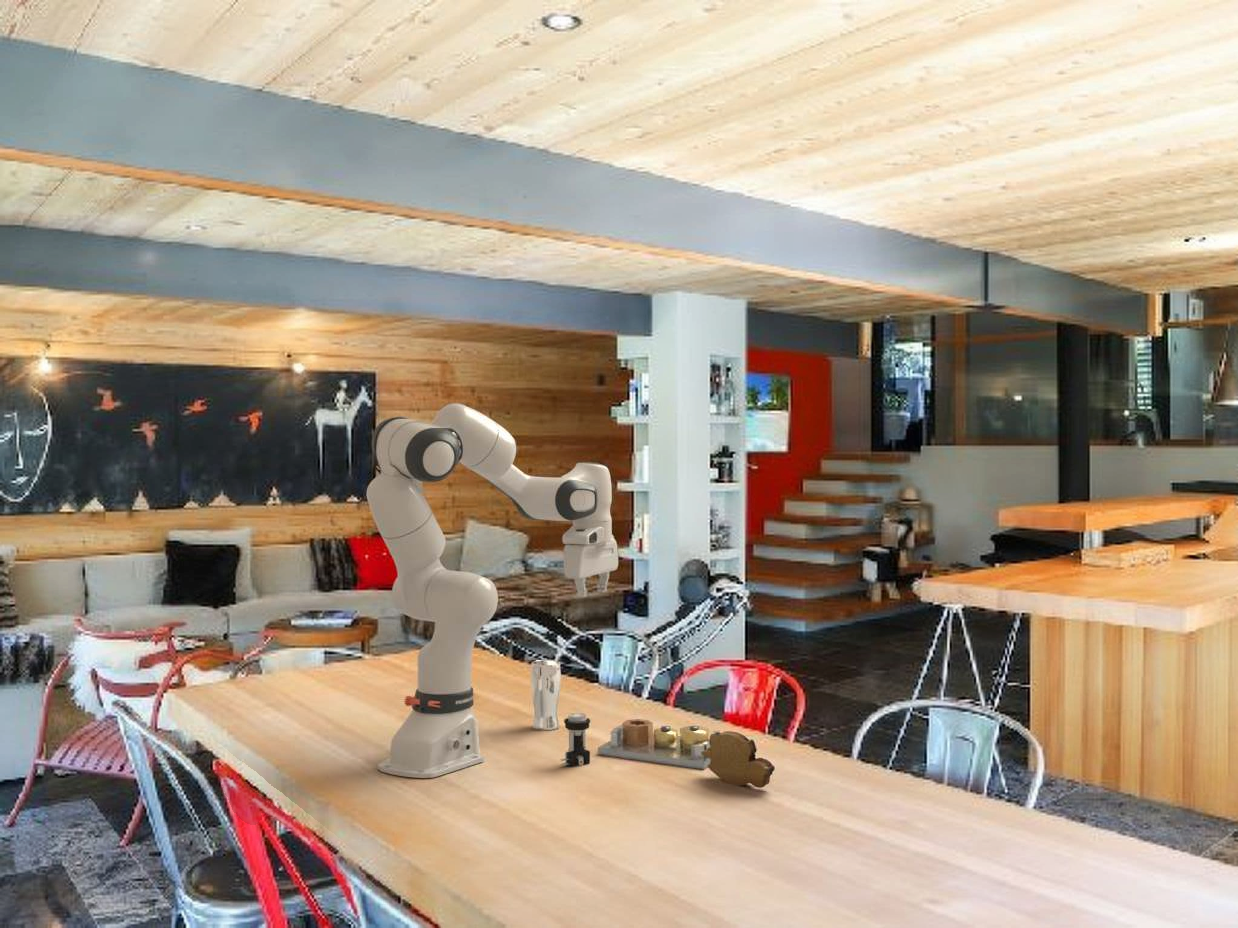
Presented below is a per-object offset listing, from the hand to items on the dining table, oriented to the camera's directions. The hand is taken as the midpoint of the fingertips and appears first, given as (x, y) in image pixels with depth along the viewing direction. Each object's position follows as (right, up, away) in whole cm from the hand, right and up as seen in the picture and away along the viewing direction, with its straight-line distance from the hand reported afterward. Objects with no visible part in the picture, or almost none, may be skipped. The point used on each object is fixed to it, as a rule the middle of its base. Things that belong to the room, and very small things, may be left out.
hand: (592, 594), depth 250 cm
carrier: (+16, -31, -17) cm, 39 cm away
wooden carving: (+29, -32, -38) cm, 58 cm away
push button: (-3, -32, -26) cm, 41 cm away
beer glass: (-11, -31, +4) cm, 33 cm away
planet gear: (+10, -30, -14) cm, 34 cm away
